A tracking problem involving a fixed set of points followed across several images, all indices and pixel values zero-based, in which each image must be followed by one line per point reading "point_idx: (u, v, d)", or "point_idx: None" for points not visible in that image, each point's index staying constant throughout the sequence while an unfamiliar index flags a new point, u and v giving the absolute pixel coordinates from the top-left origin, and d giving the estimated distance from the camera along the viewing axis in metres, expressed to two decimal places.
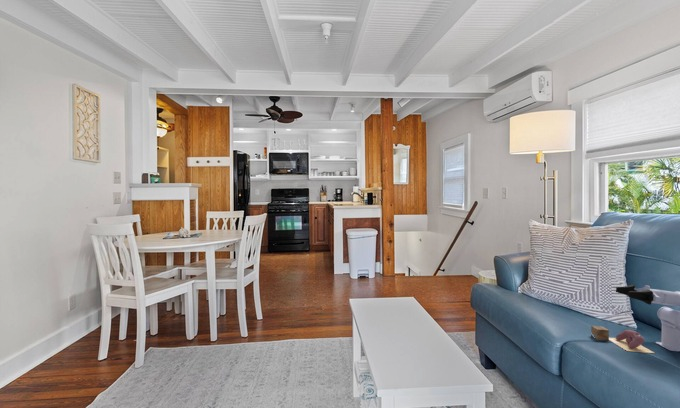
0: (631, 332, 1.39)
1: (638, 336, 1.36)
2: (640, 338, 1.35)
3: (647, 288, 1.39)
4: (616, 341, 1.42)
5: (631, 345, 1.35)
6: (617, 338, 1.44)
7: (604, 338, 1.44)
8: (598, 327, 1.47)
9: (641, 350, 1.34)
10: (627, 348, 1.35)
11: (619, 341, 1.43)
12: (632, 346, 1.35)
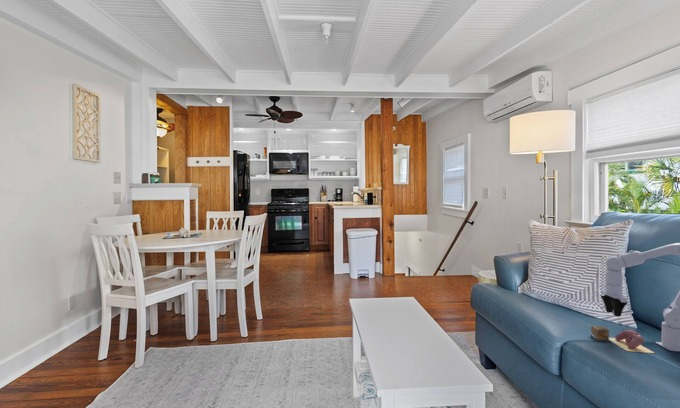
0: (631, 332, 1.39)
1: (638, 336, 1.36)
2: (640, 338, 1.35)
3: (607, 295, 1.50)
4: (616, 341, 1.42)
5: (631, 345, 1.35)
6: (617, 338, 1.44)
7: (604, 338, 1.44)
8: (598, 327, 1.47)
9: (641, 350, 1.34)
10: (627, 348, 1.35)
11: (619, 341, 1.43)
12: (632, 346, 1.35)
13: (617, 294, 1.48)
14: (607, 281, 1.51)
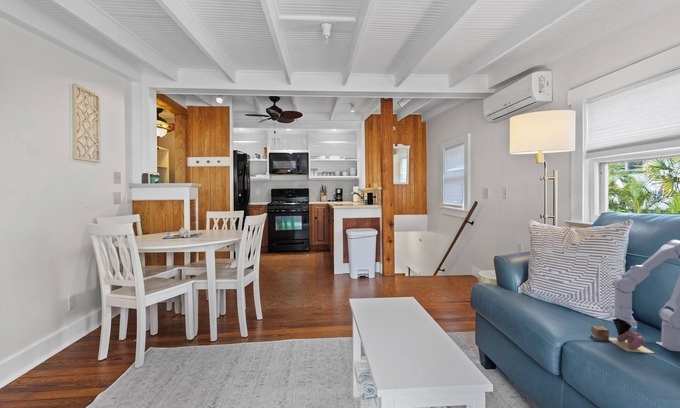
0: (632, 333, 1.38)
1: (639, 337, 1.35)
2: (641, 339, 1.34)
3: (616, 317, 1.44)
4: (616, 341, 1.42)
5: (632, 346, 1.34)
6: (618, 339, 1.42)
7: (604, 338, 1.44)
8: (598, 327, 1.47)
9: (641, 350, 1.34)
10: (627, 348, 1.35)
11: (619, 341, 1.43)
12: (633, 347, 1.34)
13: (626, 317, 1.41)
14: (618, 303, 1.43)
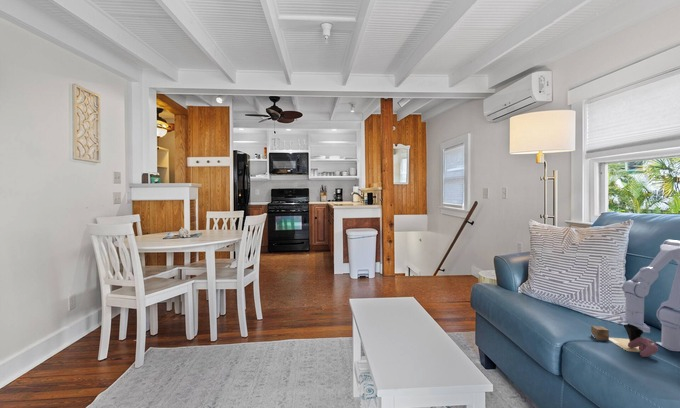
0: (644, 340, 1.31)
1: (651, 344, 1.28)
2: (653, 346, 1.27)
3: None
4: (616, 341, 1.42)
5: (644, 354, 1.27)
6: (629, 345, 1.36)
7: (604, 338, 1.44)
8: (598, 327, 1.47)
9: None
10: (627, 348, 1.35)
11: (619, 341, 1.43)
12: (645, 355, 1.27)
13: (638, 323, 1.34)
14: (633, 309, 1.35)
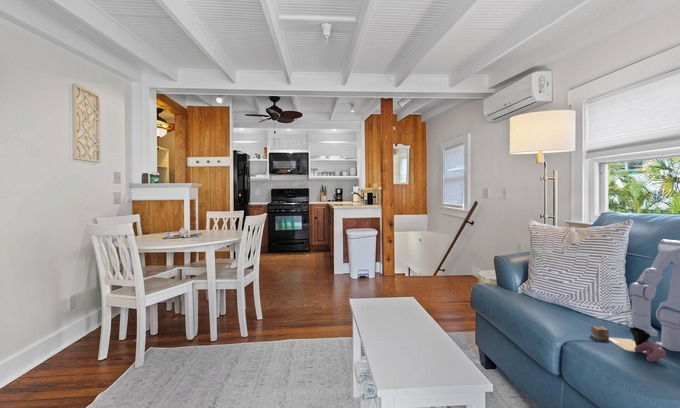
0: (651, 344, 1.27)
1: (658, 349, 1.24)
2: (660, 351, 1.23)
3: (633, 326, 1.33)
4: (616, 341, 1.42)
5: (650, 359, 1.24)
6: (636, 349, 1.32)
7: (604, 338, 1.44)
8: (598, 327, 1.47)
9: None
10: (627, 348, 1.35)
11: (619, 341, 1.43)
12: (651, 359, 1.24)
13: (645, 326, 1.31)
14: (641, 312, 1.31)
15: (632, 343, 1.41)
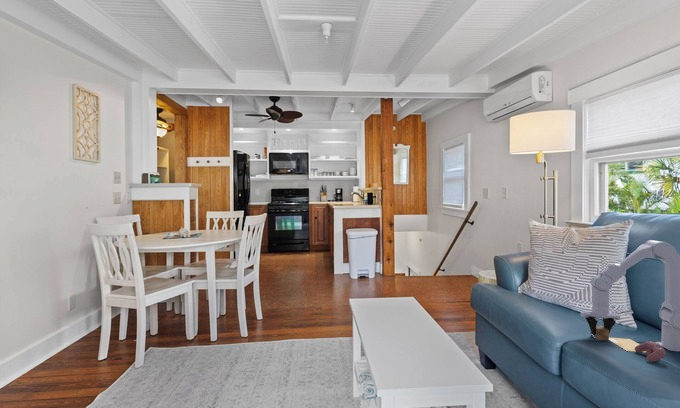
0: (652, 344, 1.27)
1: (659, 349, 1.24)
2: (661, 351, 1.23)
3: None
4: (616, 341, 1.42)
5: (650, 358, 1.24)
6: (636, 349, 1.32)
7: (604, 338, 1.44)
8: (598, 327, 1.47)
9: None
10: (627, 348, 1.35)
11: (619, 341, 1.43)
12: (651, 359, 1.24)
13: (592, 312, 1.47)
14: (595, 301, 1.46)
15: (632, 343, 1.41)
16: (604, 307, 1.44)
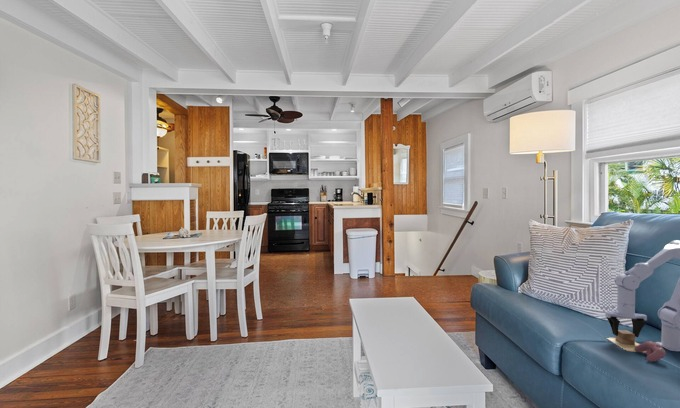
0: (652, 344, 1.27)
1: (659, 349, 1.24)
2: (661, 351, 1.23)
3: None
4: (616, 341, 1.42)
5: (650, 358, 1.24)
6: (636, 349, 1.32)
7: (630, 342, 1.39)
8: (623, 331, 1.42)
9: None
10: (627, 348, 1.35)
11: None
12: (651, 359, 1.24)
13: (617, 312, 1.42)
14: (622, 301, 1.40)
15: None
16: (630, 307, 1.39)
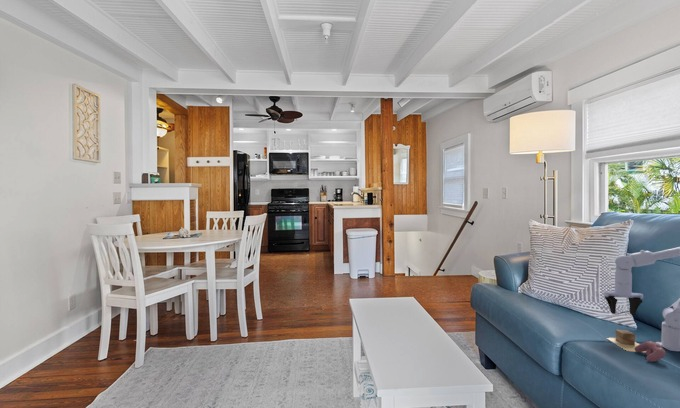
0: (652, 344, 1.27)
1: (659, 349, 1.24)
2: (661, 351, 1.23)
3: None
4: (616, 341, 1.42)
5: (650, 358, 1.24)
6: (636, 349, 1.32)
7: (630, 342, 1.39)
8: (623, 331, 1.42)
9: None
10: (627, 348, 1.35)
11: None
12: (651, 359, 1.24)
13: (615, 291, 1.49)
14: (616, 280, 1.48)
15: None
16: (627, 286, 1.45)
